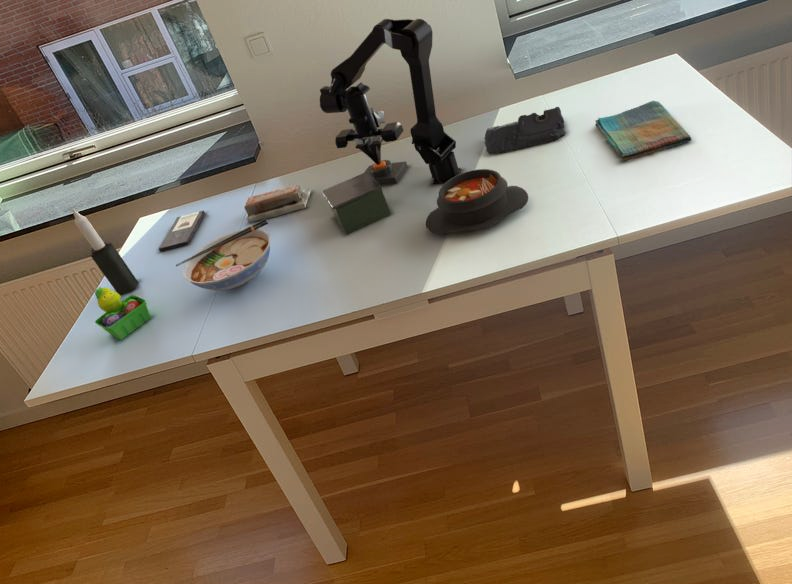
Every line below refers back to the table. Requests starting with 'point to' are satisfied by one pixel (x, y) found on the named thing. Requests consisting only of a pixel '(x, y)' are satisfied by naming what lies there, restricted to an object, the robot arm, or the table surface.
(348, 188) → the grey flat plate
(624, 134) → the dish towel
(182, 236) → the chocolate bar
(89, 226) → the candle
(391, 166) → the pad
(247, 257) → the ramen bowl
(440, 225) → the casserole
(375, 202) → the dark green boxy piece
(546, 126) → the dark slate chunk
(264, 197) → the packaged product
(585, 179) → the table surface
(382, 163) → the button
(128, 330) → the fruit basket
